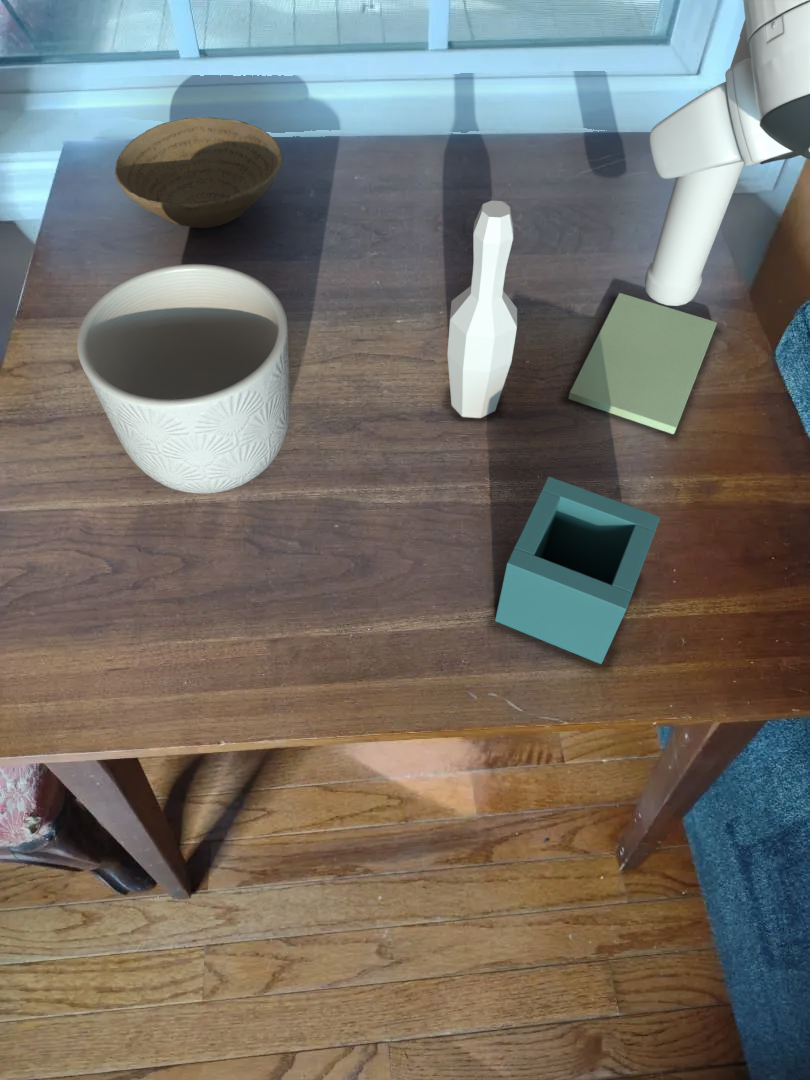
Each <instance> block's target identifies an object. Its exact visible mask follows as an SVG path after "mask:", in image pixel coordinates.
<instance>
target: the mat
mask: <svg viewBox="0 0 810 1080" xmlns="http://www.w3.org/2000/svg"><path fill="white" fill-rule="evenodd" d="M717 325H718V322H717V321H714V320H711V319H707V318H704V317H700V316H697V315H695V314H691V313H688V312H685V311H681V310H678V309H675V308H671V307H668V306H666V305H665V306H664V305H663V304H662V305H661V304H658V303H654V302H652V301H648V300H645V299H642V298H638V297H635V296H632V295H628V294H625V293H622V292H619V293H618V294H617V297H616V298H615V300H614V302H613V304H612V306H611V308H610V309H609V313H608V314H607V316H606V318H605V321H604V322H603V324H602V327H601V329H600V330H599V332H598V335H597V337H596V339H595V340H594V342H593V344H592V347H591V348H590V350H589V353H588V354H587V357H586V359H585V360H584V363H583V364H582V367H581V369H580V371H579V373H578V375H577V377H576V378H575V381H574V383H573V385H572V387H571V389H570V391H569V393H568V398H567V399H568V400H570V401H573V402H577V403H579V404H582V405H585V406H588V407H591V408H594V409H597V410H600V411H602V412H606V413H609V414H611V415H614V416H616V417H620V418H623V419H625V420H626V419H627V420H629V421H633V422H635V423H639V424H641V425H644V426H646V427H651V428H653V429H656V430H659V431H661V432H664V433H668V434H671V435H674V434H675V433H676V430H677V428H678V425H679V422H680V420H681V418H682V416H683V413H684V410H685V407H686V405H687V403H688V402H687V401H688V399H689V397H690V394H691V391H692V390H693V386H694V384H695V381H696V378H697V376H698V373H699V371H700V368H701V366H702V363H703V361H704V357H705V355H706V352H707V351H708V347H709V346H710V345H709V344H710V343H711V340H712V337H713V334H714V332H715V329H716V326H717Z"/></svg>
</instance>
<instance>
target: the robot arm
mask: <svg viewBox="0 0 810 1080" xmlns="http://www.w3.org/2000/svg"><path fill="white" fill-rule="evenodd" d="M742 1H743V10H744V21H746V31H747V40H748V44H749V45H750V55H751V57H750V58H748V59H746V60H743V61H741V62H739V63H737V64H736V65H734V66H732V67H731V66H730V67H731V68H730V67H729V68H728V69H727V70H726V71H725V74H724V75H725V76H724V77H725V81H723V82H721V83H719V84H718V85H715V86H713V87H711V88H710V89H708V90H706V91H705V92H702V93H701V94H699V95H697V96H696V97H695V98H693V99H692V100H690V101H689V102H687V103H685V104H684V105H683V106H681V107H679V108H678V109H676V110H675V111H673V112H672V113H671V114H669V115H667V116H666V117H664V119H662V120H660V121H659V122H658V123H657V124H655V125H654V126H653V127H652V128H651V130H650V132H649V147H650V148H649V149H650V152H651V153H650V154H651V157H652V158H651V159H652V161H653V164H654V167H655V171H656V173H657V175H658V176H659V177H660V178H661V179H663V180H669V179H670V180H671V179H676V177H681V176H685V175H689V174H693V173H697V172H701V171H705V170H709V169H712V168H716V167H720V166H725V165H729V164H733V163H737V162H742V161H743V162H744V166H746V167H752V166H757V165H759V164H760V165H766V164H768V163H773V162H777V161H783V160H789V159H793V158H794V159H795V158H797V159H798V158H801V159H802V158H803V159H807V160H810V0H742Z"/></svg>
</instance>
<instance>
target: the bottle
mask: <svg viewBox="0 0 810 1080" xmlns="http://www.w3.org/2000/svg"><path fill="white" fill-rule="evenodd" d="M750 57H751V55H750V45H749V44H748V40H747V31H746V21H745V20H744V21H743V24H742V27H741V31H740V34H739V39H738V42H737V45H736V48H735V51H734V54H733V57H732V60H731V64H730V67H729V68H731V67H732V66H734V65H736V64H737V63H739V62H741V61H743V60H746V59H748V58H750ZM744 166H745V164H744V162H743V161H742V162H737V163H733V164H729V165H725V166H720V167H716V168H712V169H709V170H705V171H701V172H697V173H693V174H689V175H685V176H681V177H676V178H675V180H674V184H673V187H672V191H671V194H670V198H669V202H668V206H667V208H666V213H665V215H664V219H663V223H662V226H661V230H660V234H659V237H658V241H657V244H656V249H655V252H654V255H653V260H652V262H651V263H650V264H649V266H648V267H647V270H646V272H645V277H644V287H645V292H646V293H647V295H648V296H649V297H650V299H652V300H653V301H655V302H656V303H659V304H662V305H665V306H672V307H673V306H674V307H678V306H683V305H686V304H687V303H689V302H691V301H692V300H693V299H694V298H695V297H696V295H697V293H698V291H699V289H700V287H701V285H702V281H703V277H702V276H703V275H702V273H703V271H704V268H705V265H706V263H707V261H708V258H709V255H710V253H711V250H712V247H713V245H714V242H715V240H716V237H717V234H718V232H719V229H720V227H721V225H722V221H723V220H724V217H725V215H726V212H727V209H728V206H729V204H730V201H731V199H732V197H733V194H734V191H735V189H736V186H737V183H738V181H739V179H740V177H741V173H742V171H743V168H744Z"/></svg>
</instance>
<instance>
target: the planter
mask: <svg viewBox="0 0 810 1080" xmlns="http://www.w3.org/2000/svg"><path fill="white" fill-rule="evenodd" d="M288 327H289V326H288V317H287V315H286V311H285V308H284V306H283V305H282V302H281V301H280V299H279V298H278V296H277V295H276V294H275V293H274V292H273V291H272V290H271V289H270V288H269V287H268V286H267V285H266V284H264V283H263V282H261V281H260V280H259V279H257V278H255V277H254V276H252V275H249V274H247V273H245V272H242V271H240V270H236V269H234V268H231V267H230V268H229V267H226V266H221V265H215V264H205V263H188V264H187V263H185V264H176V265H175V264H174V265H168V266H163V267H158V268H155V269H151V270H148V271H144V272H142V273H140V274H137V275H134V276H132V277H130V278H128V279H125V280H124V281H122V282H120V283H118V284H116V285H115V286H114V287H112V288H110V289H109V290H107V292H106V293H104V294H102V296H101V297H100V298H99V299H98V300H97V301H95V303H94V304H93V305H92V306H91V307H90V309H89V310H88V311H87V313H86V315H85V316H84V318H83V319H82V322H81V324H80V327H79V329H78V334H77V340H76V348H77V349H76V350H77V356H78V359H79V363H80V365H81V367H82V368H83V371H84V373H85V375H86V378H87V379H88V381H89V384H90V385H91V387H92V389H93V391H94V393H95V396H96V397H97V399H98V401H99V403H100V405H101V407H102V409H103V410H104V413H105V414H106V417H107V419H108V420H109V422H110V424H111V426H112V428H113V430H114V433H115V434H116V436H117V438H118V440H119V442H120V444H121V446H122V447H123V449H124V451H125V453H126V454H127V455H128V457H129V458H130V459H131V460H132V461H133V463H134V464H135V465H136V467H138V468H139V469H140V470H141V471H142V472H144V473H145V474H146V475H147V476H148V477H149V478H151V479H152V480H154V481H156V482H157V483H159V484H161V485H163V486H165V487H166V488H170V489H172V490H176V491H179V492H183V493H190V494H214V493H222V492H227V491H230V490H233V489H236V488H238V487H241V486H243V485H245V484H247V483H248V482H250V481H251V480H253V479H255V478H256V477H258V476H259V475H261V474H262V473H263V472H264V471H265V470H266V469H267V468H268V467H269V466H270V465H271V464H272V462H274V460H275V458H276V457H277V455H278V454H279V452H280V450H281V448H282V447H283V444H284V441H285V440H286V436H287V433H288V429H289V425H290V424H289V422H290V418H291V417H290V416H291V393H290V392H291V391H290V390H291V389H290V387H291V386H290V360H289V359H290V358H289V357H290V356H289V355H290V354H289V328H288Z"/></svg>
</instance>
